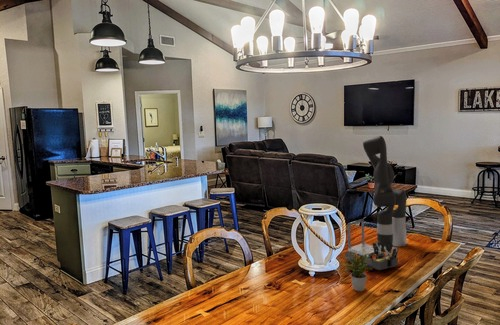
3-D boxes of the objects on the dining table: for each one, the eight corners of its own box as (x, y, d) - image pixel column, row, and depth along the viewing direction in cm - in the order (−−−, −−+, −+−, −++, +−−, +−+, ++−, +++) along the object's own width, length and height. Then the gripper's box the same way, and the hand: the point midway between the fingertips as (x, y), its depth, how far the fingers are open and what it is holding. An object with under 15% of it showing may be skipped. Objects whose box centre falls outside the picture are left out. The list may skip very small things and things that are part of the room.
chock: (379, 270, 188) (379, 261, 188) (372, 267, 192) (372, 259, 192) (397, 265, 194) (398, 257, 194) (390, 263, 198) (391, 255, 198)
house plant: (353, 278, 185) (353, 245, 183) (381, 286, 175) (380, 251, 173) (337, 288, 175) (336, 253, 173) (365, 297, 165) (364, 260, 163)
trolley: (344, 261, 207) (343, 222, 205) (359, 256, 214) (358, 218, 212) (372, 270, 193) (371, 228, 190) (387, 264, 199) (386, 224, 197)
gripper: (368, 230, 195) (368, 263, 197) (392, 236, 183) (393, 271, 185) (377, 227, 199) (378, 259, 201) (402, 233, 188) (402, 267, 189)
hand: (385, 265), depth 193 cm, fingers closed on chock, 4 cm apart
